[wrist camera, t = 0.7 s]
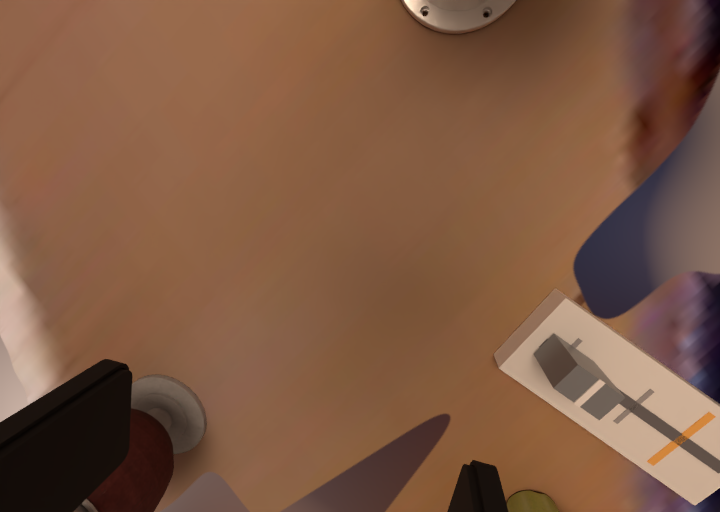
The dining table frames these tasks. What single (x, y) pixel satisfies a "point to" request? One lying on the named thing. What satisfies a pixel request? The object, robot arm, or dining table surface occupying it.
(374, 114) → the dining table surface
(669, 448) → the console
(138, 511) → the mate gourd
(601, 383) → the fader
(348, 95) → the dining table surface
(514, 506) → the plant pot
